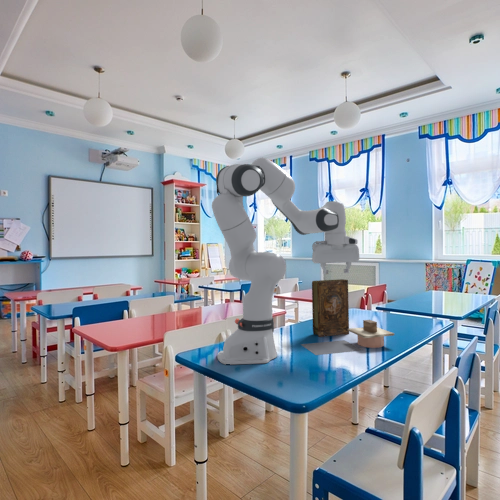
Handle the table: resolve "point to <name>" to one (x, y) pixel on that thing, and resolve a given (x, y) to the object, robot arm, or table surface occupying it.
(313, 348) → the mat
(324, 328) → the book
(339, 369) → the table surface
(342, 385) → the table surface
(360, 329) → the board
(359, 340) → the bowl
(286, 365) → the table surface
